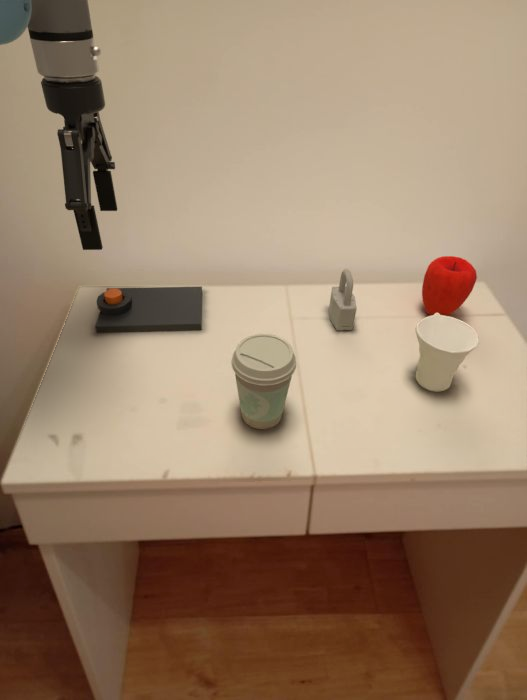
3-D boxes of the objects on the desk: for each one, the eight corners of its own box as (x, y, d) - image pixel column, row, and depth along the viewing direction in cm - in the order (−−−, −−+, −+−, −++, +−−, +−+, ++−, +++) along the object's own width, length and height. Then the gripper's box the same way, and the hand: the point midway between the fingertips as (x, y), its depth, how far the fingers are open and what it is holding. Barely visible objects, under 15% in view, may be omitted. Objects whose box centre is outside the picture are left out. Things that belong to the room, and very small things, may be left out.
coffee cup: (222, 403, 70) (220, 341, 62) (273, 386, 73) (277, 324, 65) (247, 445, 64) (249, 382, 56) (301, 424, 67) (310, 361, 59)
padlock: (355, 330, 84) (365, 283, 78) (333, 331, 84) (341, 283, 77) (346, 307, 90) (355, 261, 83) (325, 308, 89) (332, 261, 83)
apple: (463, 330, 85) (483, 279, 78) (414, 321, 87) (429, 270, 80) (461, 303, 92) (479, 254, 85) (415, 296, 94) (429, 246, 87)
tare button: (104, 305, 83) (102, 297, 82) (107, 295, 85) (105, 288, 84) (121, 304, 83) (120, 297, 82) (123, 295, 86) (122, 288, 85)
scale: (94, 332, 81) (90, 319, 79) (105, 294, 90) (102, 281, 88) (201, 330, 83) (200, 316, 81) (202, 292, 92) (201, 279, 90)
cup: (448, 360, 79) (467, 312, 72) (466, 401, 72) (489, 351, 65) (395, 359, 78) (409, 310, 72) (409, 400, 71) (426, 350, 65)
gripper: (78, 100, 52) (112, 268, 66) (115, 59, 71) (135, 196, 85) (8, 98, 51) (56, 268, 65) (64, 58, 70) (93, 196, 84)
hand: (101, 228), depth 75 cm, fingers open, 13 cm apart
